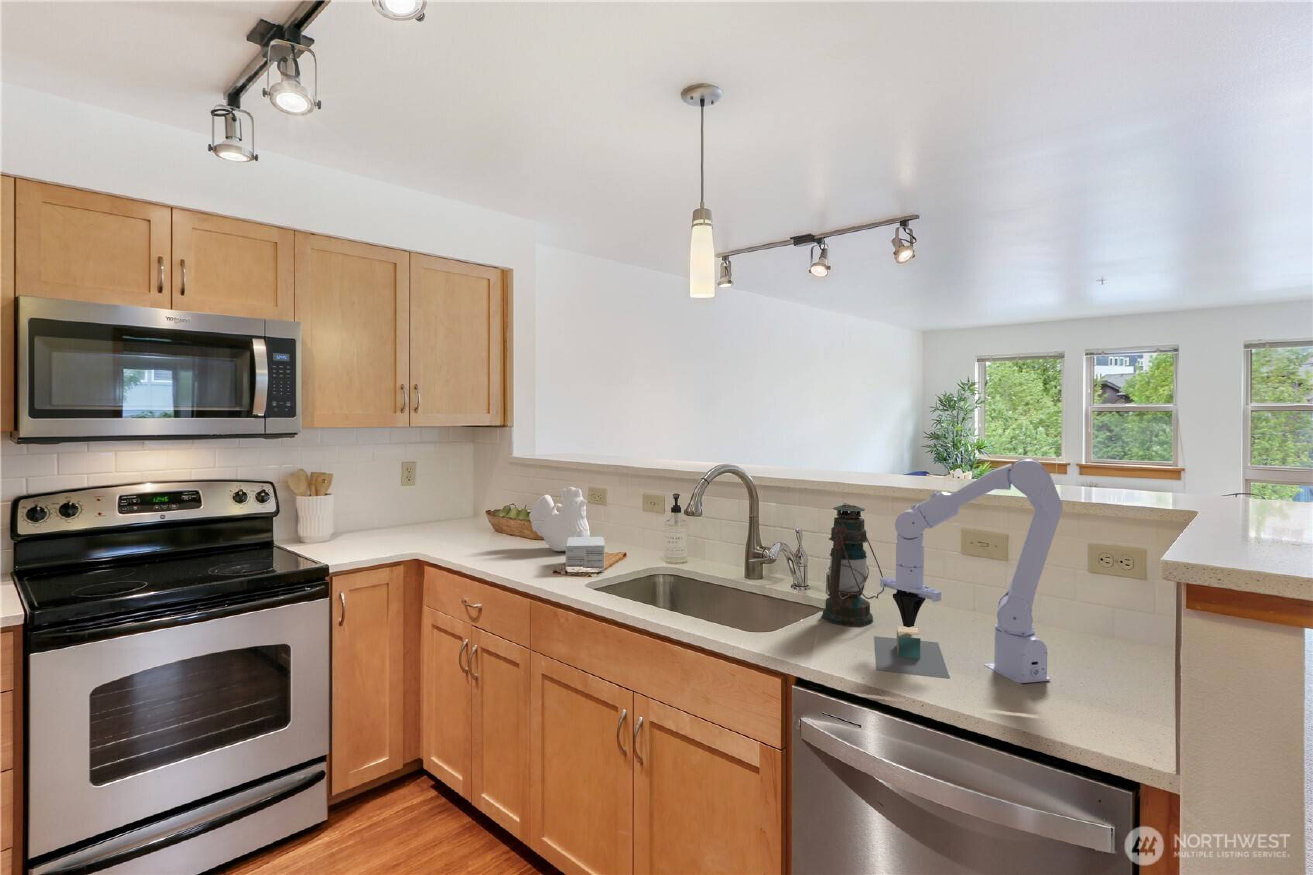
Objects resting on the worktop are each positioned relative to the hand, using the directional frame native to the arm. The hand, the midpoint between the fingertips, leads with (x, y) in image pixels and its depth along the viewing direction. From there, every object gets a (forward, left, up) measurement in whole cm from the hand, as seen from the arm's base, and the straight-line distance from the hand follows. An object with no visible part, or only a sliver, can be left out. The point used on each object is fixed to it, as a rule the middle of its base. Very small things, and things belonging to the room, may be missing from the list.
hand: (908, 626), depth 146 cm
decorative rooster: (+130, +66, -7) cm, 146 cm away
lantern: (+26, -1, -7) cm, 27 cm away
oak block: (-3, +2, -4) cm, 5 cm away
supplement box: (+98, +60, -7) cm, 115 cm away
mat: (-2, +1, -6) cm, 7 cm away
